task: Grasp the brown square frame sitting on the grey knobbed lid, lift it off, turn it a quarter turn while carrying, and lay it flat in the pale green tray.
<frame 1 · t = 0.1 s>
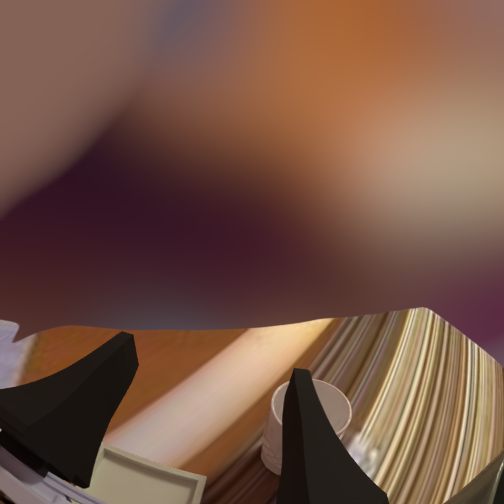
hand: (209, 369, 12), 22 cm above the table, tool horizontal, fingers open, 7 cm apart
white cup: (288, 455, 27), on the table
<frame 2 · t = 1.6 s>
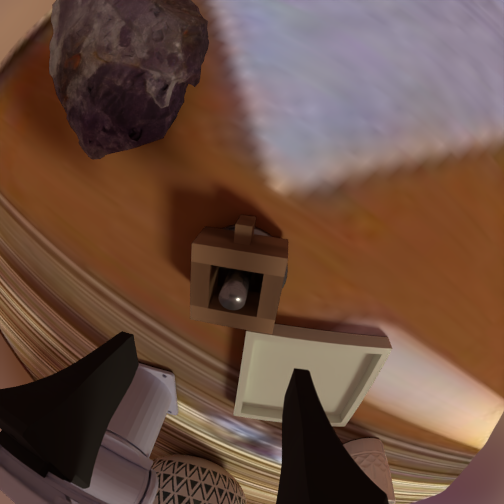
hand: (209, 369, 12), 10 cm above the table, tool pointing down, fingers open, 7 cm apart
brown square frame: (241, 269, 20), resting on grey knobbed lid
white cup: (358, 447, 30), on the table
rock: (157, 62, 16), on the table
planter: (198, 461, 36), on the table
grey knobbed lid: (242, 267, 21), on the table
tray: (305, 378, 25), on the table
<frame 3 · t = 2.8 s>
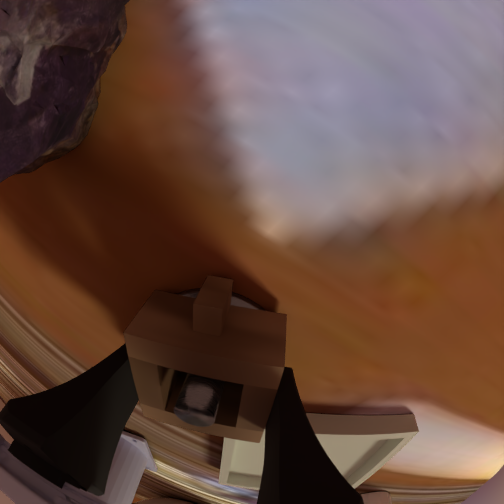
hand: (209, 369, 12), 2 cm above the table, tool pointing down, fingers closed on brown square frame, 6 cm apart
brown square frame: (215, 351, 13), resting on grey knobbed lid, touching gripper
white cup: (363, 497, 23), on the table
rock: (83, 35, 8), on the table
planter: (186, 502, 29), on the table
grey knobbed lid: (216, 345, 13), on the table
tray: (305, 454, 17), on the table
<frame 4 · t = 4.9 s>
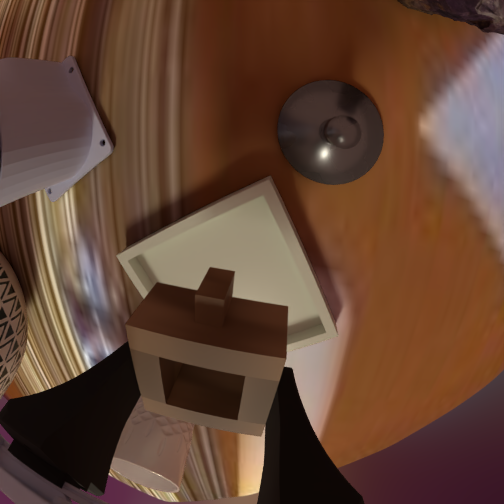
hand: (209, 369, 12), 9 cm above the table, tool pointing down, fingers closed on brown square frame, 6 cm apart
brown square frame: (216, 343, 13), point 8 cm above the table, touching gripper
white cup: (169, 404, 29), on the table
planter: (6, 278, 25), on the table
grey knobbed lid: (331, 131, 16), on the table
tray: (229, 287, 21), on the table
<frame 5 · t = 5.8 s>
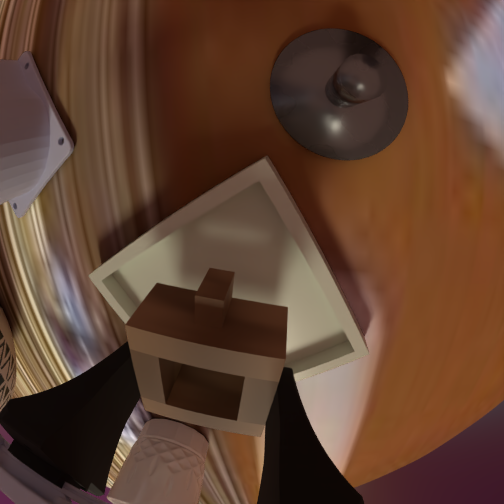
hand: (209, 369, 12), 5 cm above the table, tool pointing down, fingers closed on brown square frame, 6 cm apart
brown square frame: (216, 344, 13), point 4 cm above the table, touching gripper
white cup: (177, 433, 24), on the table
grey knobbed lid: (341, 92, 11), on the table
tray: (229, 305, 16), on the table
when the fingers open (3 cm above the table, at t = 6.8 s): brown square frame drops 1 cm, resting on tray.
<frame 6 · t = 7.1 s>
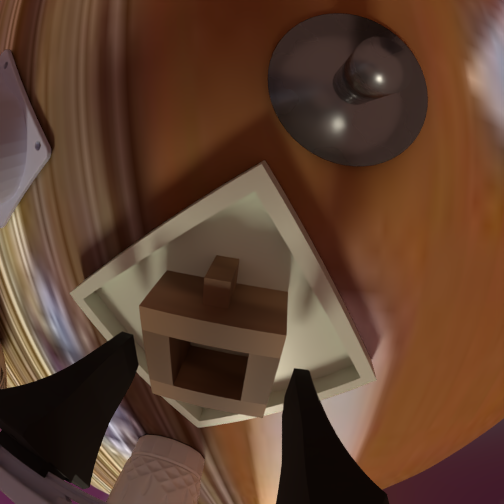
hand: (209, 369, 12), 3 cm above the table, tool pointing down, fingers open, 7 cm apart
brown square frame: (221, 329, 14), resting on tray
white cup: (172, 449, 22), on the table
grey knobbed lid: (351, 86, 9), on the table
tray: (222, 327, 14), on the table
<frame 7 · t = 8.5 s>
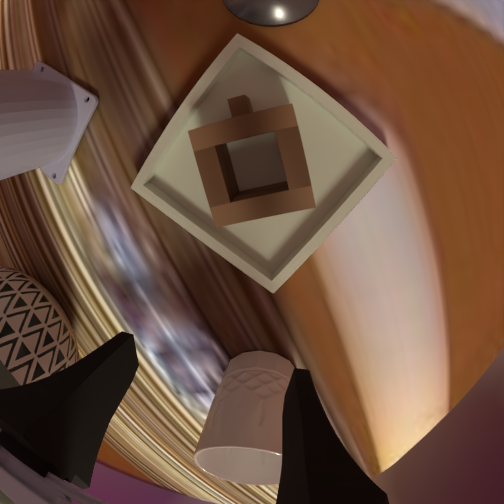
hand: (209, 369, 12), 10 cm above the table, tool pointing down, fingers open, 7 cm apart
brown square frame: (257, 161, 17), resting on tray
white cup: (261, 373, 25), on the table
planter: (47, 310, 26), on the table
tray: (259, 164, 18), on the table
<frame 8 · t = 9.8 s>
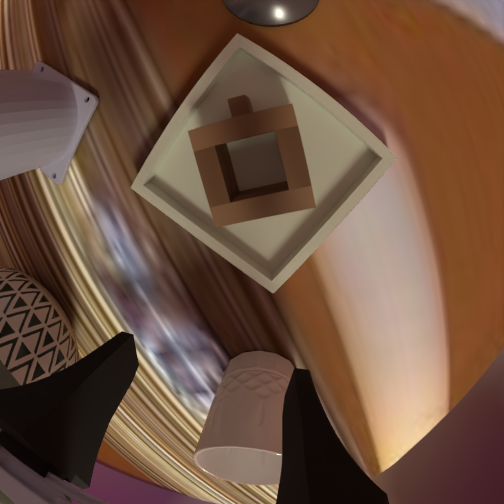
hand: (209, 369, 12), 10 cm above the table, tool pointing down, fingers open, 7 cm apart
brown square frame: (257, 161, 17), resting on tray
white cup: (261, 373, 25), on the table
planter: (47, 310, 26), on the table
tray: (259, 164, 18), on the table
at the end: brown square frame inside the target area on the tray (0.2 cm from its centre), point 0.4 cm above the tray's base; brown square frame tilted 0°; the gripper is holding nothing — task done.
